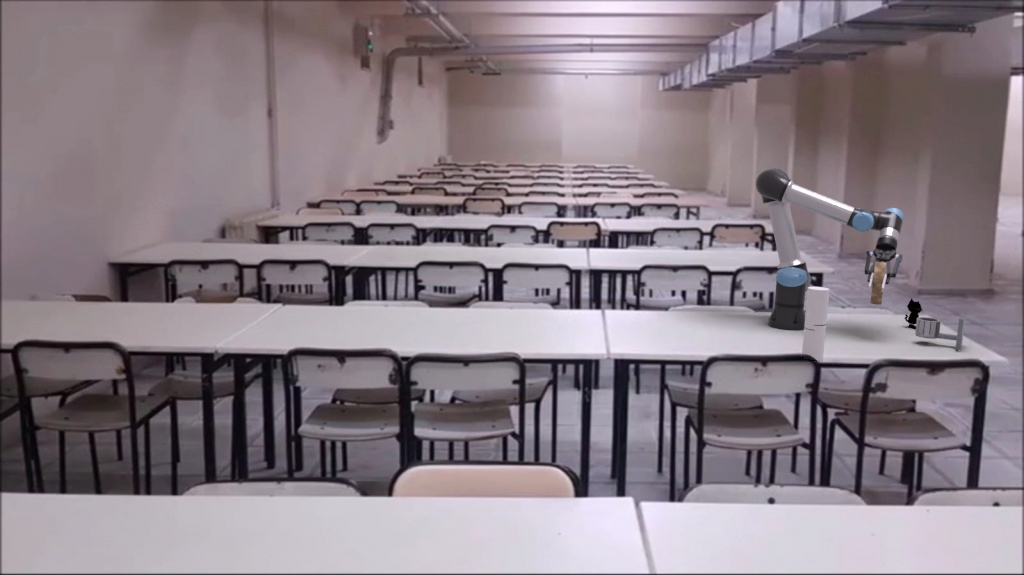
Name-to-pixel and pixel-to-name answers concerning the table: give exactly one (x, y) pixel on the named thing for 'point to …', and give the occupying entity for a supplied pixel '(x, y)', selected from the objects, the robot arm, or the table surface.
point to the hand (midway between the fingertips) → (876, 289)
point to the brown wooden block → (878, 283)
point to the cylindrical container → (815, 322)
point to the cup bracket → (932, 330)
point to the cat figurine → (913, 313)
